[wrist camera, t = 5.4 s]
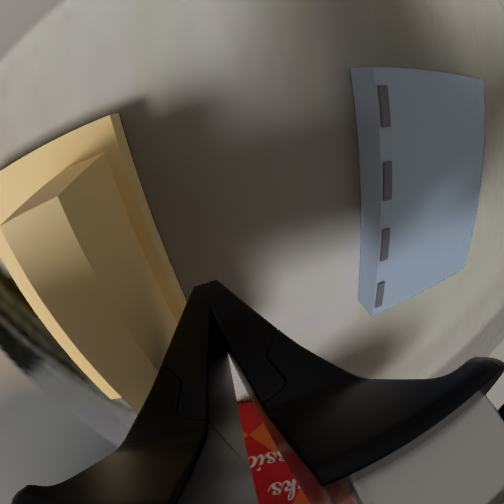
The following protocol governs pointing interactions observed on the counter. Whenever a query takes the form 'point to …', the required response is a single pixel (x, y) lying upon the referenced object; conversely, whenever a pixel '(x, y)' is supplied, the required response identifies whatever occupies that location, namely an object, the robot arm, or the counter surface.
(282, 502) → the coffee cup
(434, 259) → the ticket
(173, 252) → the counter surface
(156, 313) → the stub
